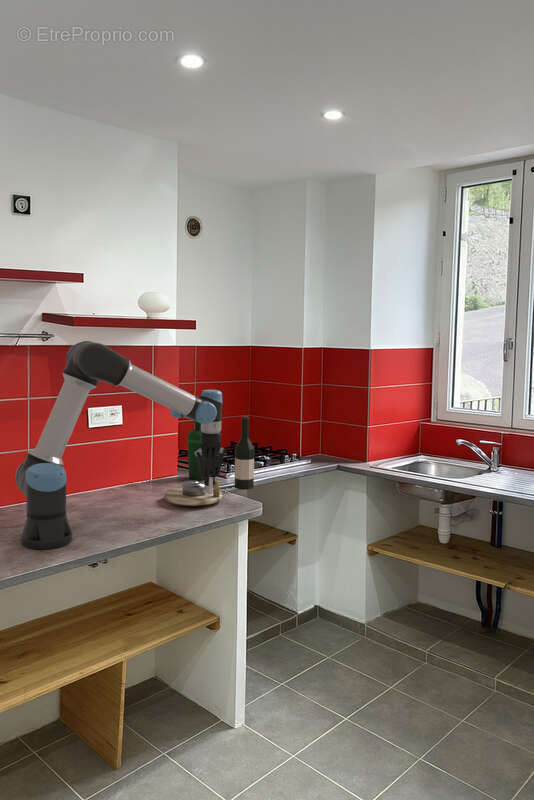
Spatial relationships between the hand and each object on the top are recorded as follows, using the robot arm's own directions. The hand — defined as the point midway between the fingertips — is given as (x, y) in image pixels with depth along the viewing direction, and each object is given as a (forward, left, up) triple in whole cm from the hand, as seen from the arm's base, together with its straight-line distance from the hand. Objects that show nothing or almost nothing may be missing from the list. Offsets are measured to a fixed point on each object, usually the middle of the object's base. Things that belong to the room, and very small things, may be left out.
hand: (209, 493), depth 245 cm
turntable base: (-2, +8, -5) cm, 9 cm away
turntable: (-2, +8, -3) cm, 9 cm away
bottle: (+16, +39, -5) cm, 42 cm away
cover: (-2, +8, -2) cm, 8 cm away
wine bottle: (+26, +17, -5) cm, 31 cm away
